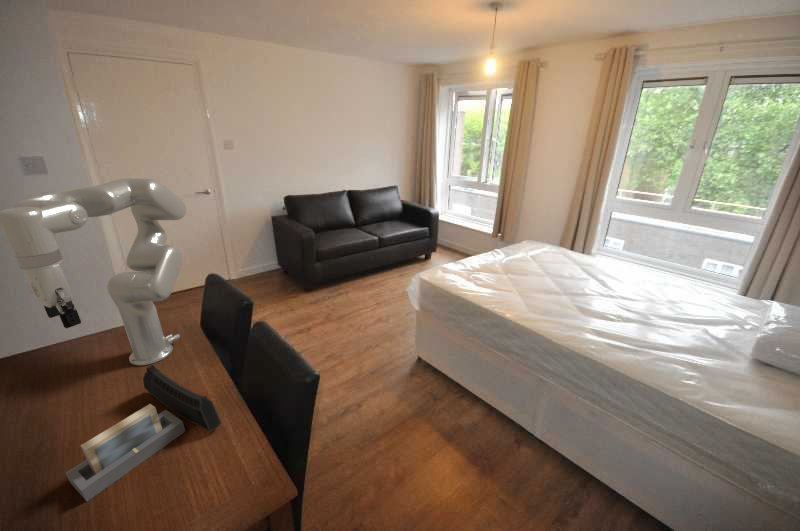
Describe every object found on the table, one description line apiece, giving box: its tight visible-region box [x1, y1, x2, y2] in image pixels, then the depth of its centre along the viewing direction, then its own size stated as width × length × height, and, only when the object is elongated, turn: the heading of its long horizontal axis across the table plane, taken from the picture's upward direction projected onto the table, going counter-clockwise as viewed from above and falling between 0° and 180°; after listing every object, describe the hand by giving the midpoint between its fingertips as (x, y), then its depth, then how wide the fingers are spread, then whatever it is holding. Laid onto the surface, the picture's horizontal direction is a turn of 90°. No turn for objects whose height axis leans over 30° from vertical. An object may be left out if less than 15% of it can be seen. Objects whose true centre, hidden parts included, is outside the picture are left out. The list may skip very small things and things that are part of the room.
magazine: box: [142, 364, 222, 432], centre depth 93 cm, size 17×3×30 cm
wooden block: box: [79, 403, 163, 475], centre depth 80 cm, size 14×3×9 cm, turn 152°
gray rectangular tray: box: [65, 409, 186, 502], centre depth 81 cm, size 21×8×4 cm, turn 151°
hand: (65, 320), depth 86 cm, fingers open, 9 cm apart
